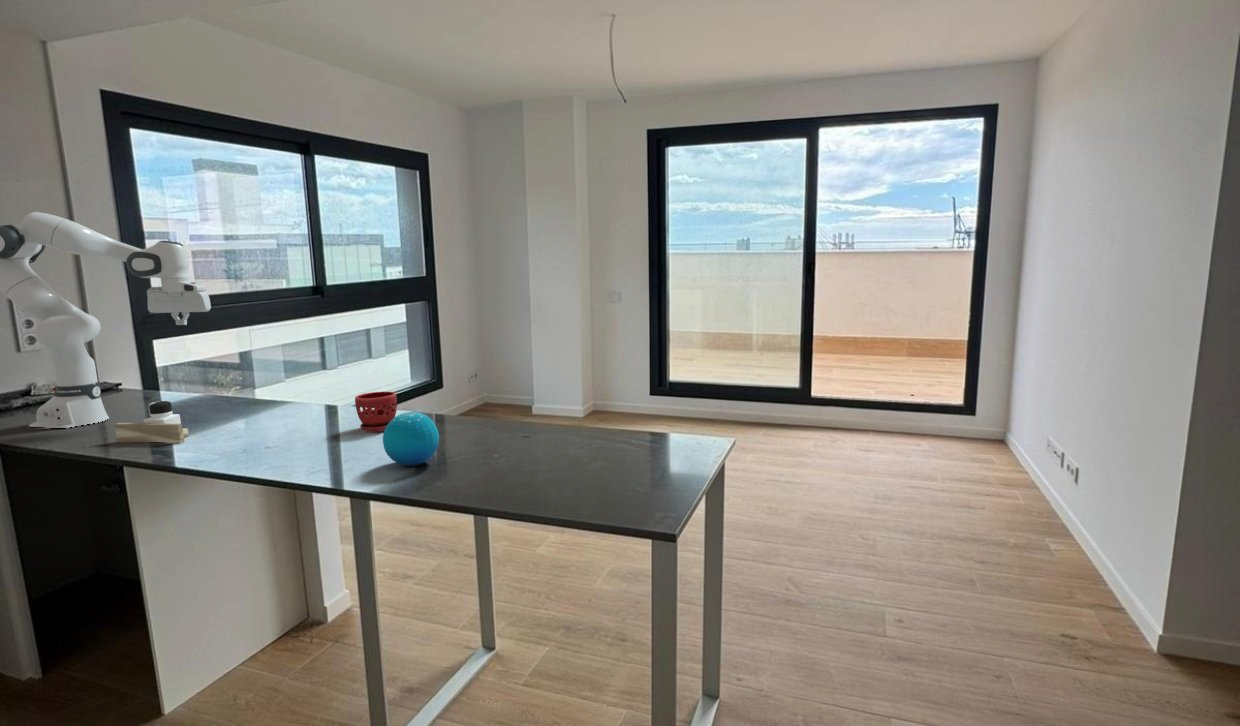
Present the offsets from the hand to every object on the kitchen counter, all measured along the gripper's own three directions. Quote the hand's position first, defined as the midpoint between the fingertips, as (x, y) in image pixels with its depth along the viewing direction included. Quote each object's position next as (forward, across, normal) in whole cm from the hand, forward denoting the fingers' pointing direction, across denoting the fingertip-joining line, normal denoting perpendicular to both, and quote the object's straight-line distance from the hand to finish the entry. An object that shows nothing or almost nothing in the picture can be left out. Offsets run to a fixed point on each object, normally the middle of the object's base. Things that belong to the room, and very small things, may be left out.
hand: (181, 324), depth 233 cm
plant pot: (+34, +75, -27) cm, 87 cm away
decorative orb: (+34, +96, -67) cm, 122 cm away
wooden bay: (+34, +7, -31) cm, 47 cm away
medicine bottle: (+34, +7, -30) cm, 46 cm away
